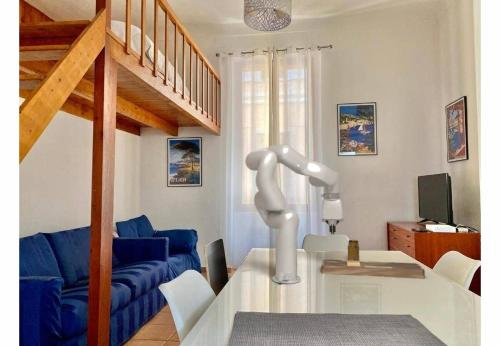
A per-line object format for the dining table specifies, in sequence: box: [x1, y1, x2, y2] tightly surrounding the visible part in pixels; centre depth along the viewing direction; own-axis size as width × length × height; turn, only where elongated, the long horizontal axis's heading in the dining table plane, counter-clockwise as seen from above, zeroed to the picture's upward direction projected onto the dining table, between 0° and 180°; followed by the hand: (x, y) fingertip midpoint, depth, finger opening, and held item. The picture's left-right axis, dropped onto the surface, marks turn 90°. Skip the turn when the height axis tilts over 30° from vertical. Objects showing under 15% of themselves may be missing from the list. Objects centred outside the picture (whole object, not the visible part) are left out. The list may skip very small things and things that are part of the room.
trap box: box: [321, 259, 426, 280], centre depth 180 cm, size 12×46×4 cm, turn 78°
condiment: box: [347, 239, 360, 262], centre depth 203 cm, size 7×8×12 cm
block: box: [346, 260, 361, 266], centre depth 182 cm, size 6×6×5 cm
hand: (332, 233), depth 185 cm, fingers closed
